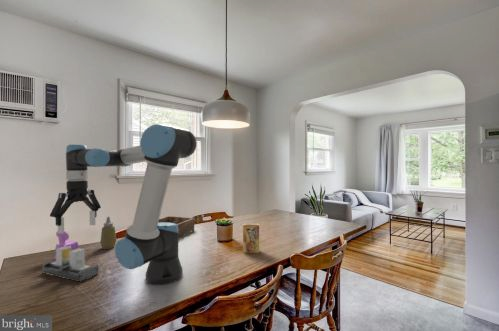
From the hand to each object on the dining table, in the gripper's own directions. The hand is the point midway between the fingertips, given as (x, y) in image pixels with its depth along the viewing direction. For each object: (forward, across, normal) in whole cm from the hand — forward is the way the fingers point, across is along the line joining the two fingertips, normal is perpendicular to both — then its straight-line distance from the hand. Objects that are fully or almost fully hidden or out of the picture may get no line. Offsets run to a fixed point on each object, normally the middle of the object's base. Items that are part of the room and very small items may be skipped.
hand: (77, 228), depth 105 cm
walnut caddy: (+20, +62, +2) cm, 65 cm away
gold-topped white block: (+18, 0, -1) cm, 18 cm away
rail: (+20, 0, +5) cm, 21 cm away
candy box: (+21, +52, -62) cm, 84 cm away
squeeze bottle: (+20, +30, +18) cm, 41 cm away
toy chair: (+21, +12, +26) cm, 35 cm away
